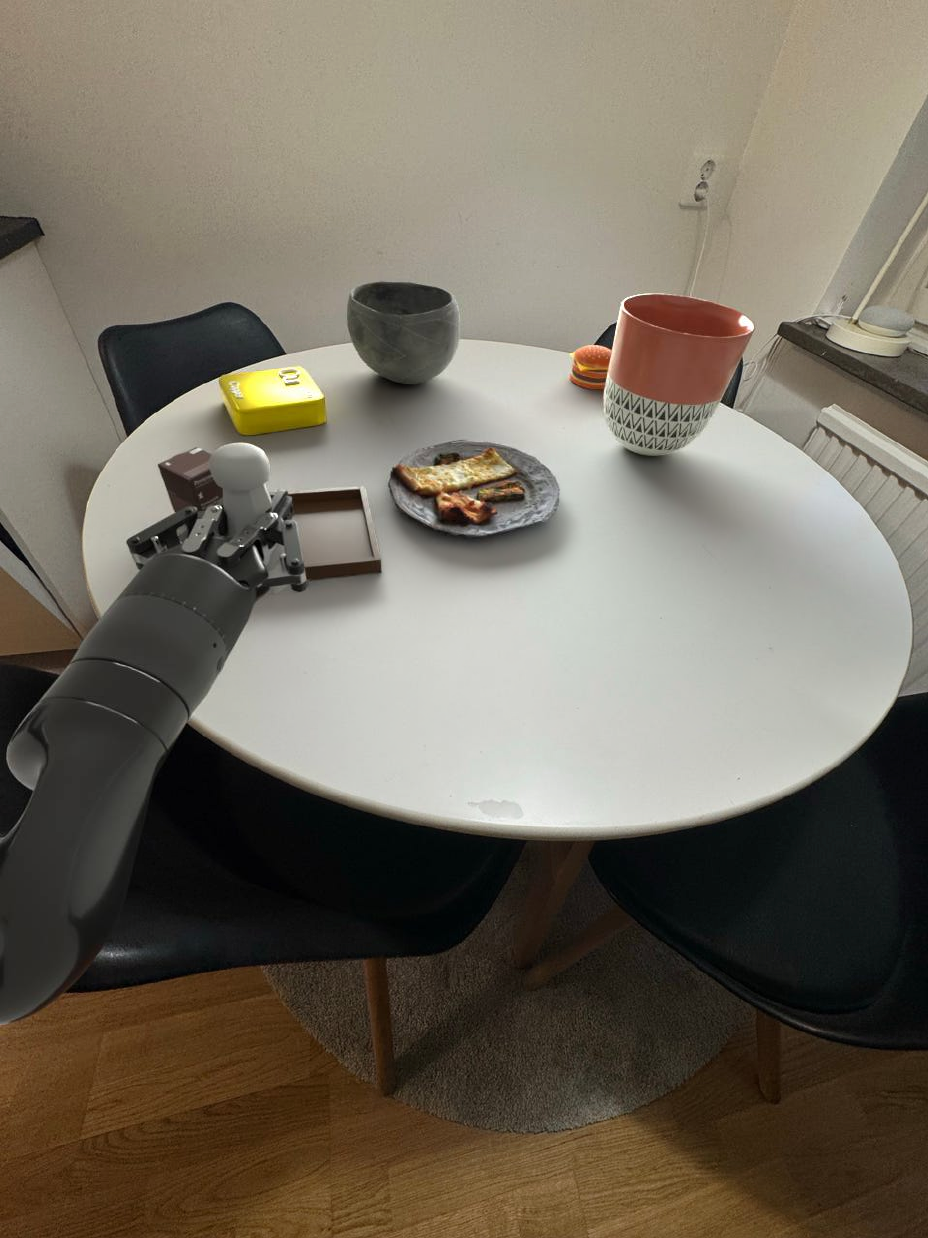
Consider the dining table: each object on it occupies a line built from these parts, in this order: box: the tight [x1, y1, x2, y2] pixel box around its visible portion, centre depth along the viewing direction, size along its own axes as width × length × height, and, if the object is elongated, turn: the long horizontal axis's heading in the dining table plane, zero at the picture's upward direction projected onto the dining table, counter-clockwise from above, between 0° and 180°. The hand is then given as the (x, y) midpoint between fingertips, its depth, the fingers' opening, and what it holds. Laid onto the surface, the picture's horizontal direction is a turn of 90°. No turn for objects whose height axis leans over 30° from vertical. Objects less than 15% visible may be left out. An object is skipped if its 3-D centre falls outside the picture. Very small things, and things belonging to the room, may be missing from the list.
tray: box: [268, 485, 382, 581], centre depth 71 cm, size 17×17×2 cm
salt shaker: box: [209, 442, 288, 596], centre depth 46 cm, size 6×6×13 cm
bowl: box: [346, 280, 461, 385], centre depth 104 cm, size 21×21×15 cm
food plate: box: [387, 439, 561, 539], centre depth 80 cm, size 25×23×4 cm
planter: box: [602, 293, 756, 457], centre depth 88 cm, size 20×20×21 cm
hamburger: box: [569, 344, 612, 390], centre depth 113 cm, size 9×10×7 cm
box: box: [157, 447, 223, 513], centre depth 71 cm, size 6×6×7 cm
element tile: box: [218, 366, 328, 436], centre depth 93 cm, size 15×15×5 cm
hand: (264, 496), depth 47 cm, fingers closed on salt shaker, 3 cm apart
